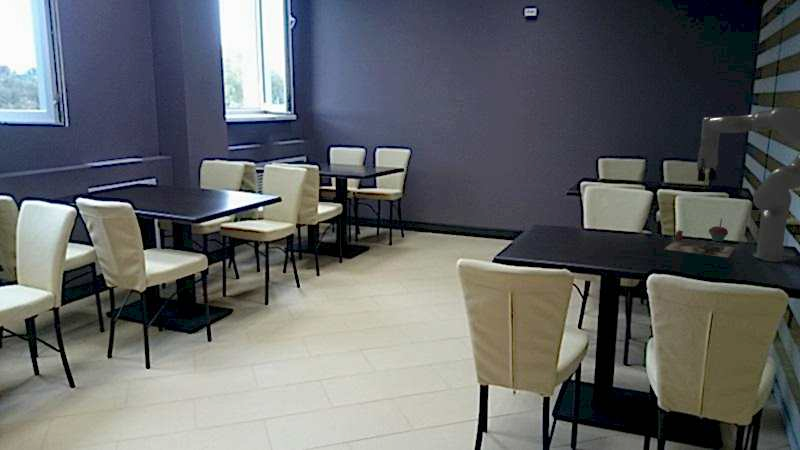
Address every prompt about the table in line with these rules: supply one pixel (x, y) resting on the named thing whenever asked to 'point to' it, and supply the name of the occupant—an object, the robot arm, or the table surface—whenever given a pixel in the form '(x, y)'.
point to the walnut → (706, 247)
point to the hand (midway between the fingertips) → (706, 180)
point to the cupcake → (718, 233)
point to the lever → (680, 240)
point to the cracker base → (690, 249)
